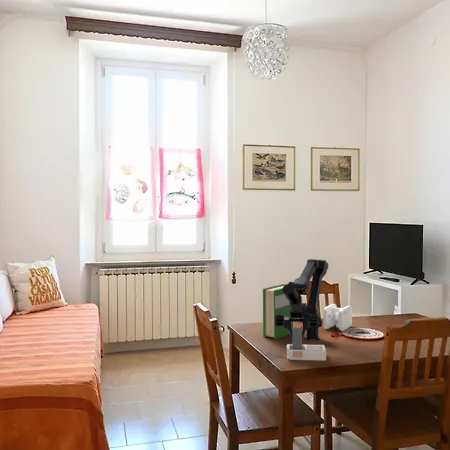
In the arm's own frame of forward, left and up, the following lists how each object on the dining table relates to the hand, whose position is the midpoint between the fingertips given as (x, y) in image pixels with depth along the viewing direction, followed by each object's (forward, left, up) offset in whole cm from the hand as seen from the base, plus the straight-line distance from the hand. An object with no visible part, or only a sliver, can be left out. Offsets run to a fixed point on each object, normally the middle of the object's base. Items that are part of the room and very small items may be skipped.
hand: (297, 337), depth 200 cm
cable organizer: (-50, +24, -9) cm, 56 cm away
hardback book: (-36, -7, -9) cm, 38 cm away
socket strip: (-1, +4, -8) cm, 9 cm away
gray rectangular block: (-1, 0, -7) cm, 7 cm away
